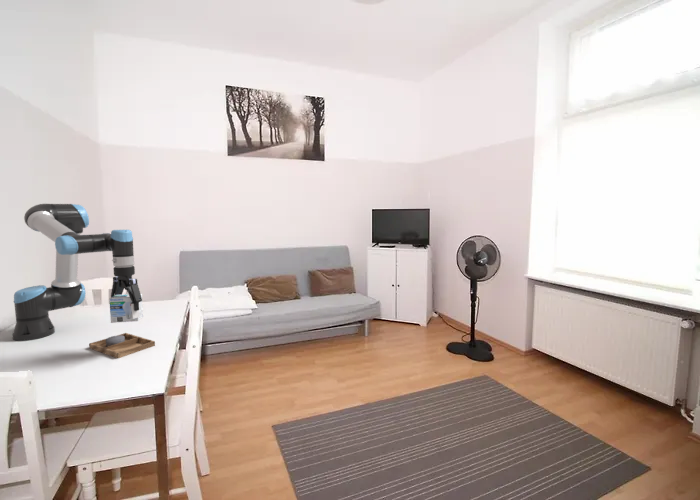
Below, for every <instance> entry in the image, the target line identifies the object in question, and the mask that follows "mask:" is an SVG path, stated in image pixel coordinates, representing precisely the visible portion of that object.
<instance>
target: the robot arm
mask: <svg viewBox="0 0 700 500" xmlns="http://www.w3.org/2000/svg"><path fill="white" fill-rule="evenodd" d="M23 219H24V223H25V224H26V226H27V227H28V228H30V229H31V230H32V231H34V232H38V233H39V232H40V233H41V234H42V235H44V236H45V237H46V238H48V239H50V240H51V241H52V242H54V246H55V250H56V251H55V274H54V275H55V277H54V278H55V279H54V280H52V281H51V284H50V285H51V286H49V287H47V286H46V285H41V284H40V285H33V286H28V287H24V288H21V289H18V290H17V291H16V292H14V295H13V304H14V313H15V325H14V329H13V331H12V340H13V341H17V342H19V341H33V340H36V339H41V338H45V337H48V336H50V335H53V334H54V333H55V326H54V324H53V322H52V320H51V319H50V316H49V315H50V314H49V312H51V311H52V312H53V311H56V310H62V309H66V308H72V307H73V308H74V307H77V306H80V305H81V304H83V302H84V301H85V298H86V293H87V292H86V287H85V285H84V284H83V283H82V282H81V281H80V280H79V279H78V268H79V267H78V265H79V254H90V253H91V254H92V253H101V252H102V253H103V252H112V260H111V261H112V263H113V276H112V285H111V293H110V298H111V297H113V296H114V295H122V294H124V293H123V292H124V290H125V291H126V292H127V294H129V296H130V298H131V301H132V302H131V310H132V319H135V318H138V317H140V315H139V302H141V301H142V302H143V296H142V297H141V294H140V293H141V291H140V288H139V285H138V278H133V276H134V275H135V274H136V269H135V268H136V267H135V266H134V265H135V256H134V254H135V252H134V238H133V237H134V236H133V231H132V230H130V229H113V230H111V231H110V233H108V232H105V233H104V232H103V233H97V234H96V233H95V234H83V233H84V229H86V228H88V226H89V225H90V218H89V214H88V211H87V210H86V208H85V207H84V206H83V205H82V204H81V205H80V204H75V203H39V204H35V205H34V206H32V207H30V208H29V209H28V210H27V211H26V212H25V213H24V217H23Z"/></svg>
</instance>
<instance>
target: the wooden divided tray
mask: <svg viewBox="0 0 700 500" xmlns="http://www.w3.org/2000/svg"><path fill="white" fill-rule="evenodd" d="M118 335H122V336H124V337H125V341H124V342H121V343H118V344H115V345H111V346H108V347H106V339H107V338H103V339H100V340H97V341H93V342H90V343H89V344H88V348H89V349H90V350H94V351H95V352H99V353H101V354H104V355H107V356H110V357H113V358H116V359H120V358H124V357H126V356H130V355H132V354H136V353H138V352H141V351H144V350H147V349H149V348H152V347H156V342H155V340H152V339H148V338H145V337H141V336H138V335H135V334H131V333H127V332H124V333H121V334H117V335H116V336H118Z"/></svg>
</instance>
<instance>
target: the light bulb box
mask: <svg viewBox="0 0 700 500" xmlns="http://www.w3.org/2000/svg"><path fill="white" fill-rule="evenodd" d="M140 294H141V297H142V298H143V293H141V292H140ZM108 300H109V314H110V315H109V317H110V323H111V324H113V323H115V324H116V323H117V324H118V323H127V322H128V323H130V322H139V321H140V320H142V318H143V317H144V309H143V305H144V304H143V300H142V301H141V302H139V315H140V317H138V318H135V319H132V310H131V302H132V301H131V298H130V296H129V294H128V293H126V294H125V293H122V295H114V296H113V297H111V296H110V297H109V299H108Z"/></svg>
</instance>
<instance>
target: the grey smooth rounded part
mask: <svg viewBox="0 0 700 500" xmlns="http://www.w3.org/2000/svg"><path fill="white" fill-rule="evenodd" d="M117 335H118V336H117ZM117 335H112V336H109V337H107V338H105V339H106V347H108V346H111V345H115V344H118V343H121V342H124V341H125V337H124V336H122V335H120V334H117Z"/></svg>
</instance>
